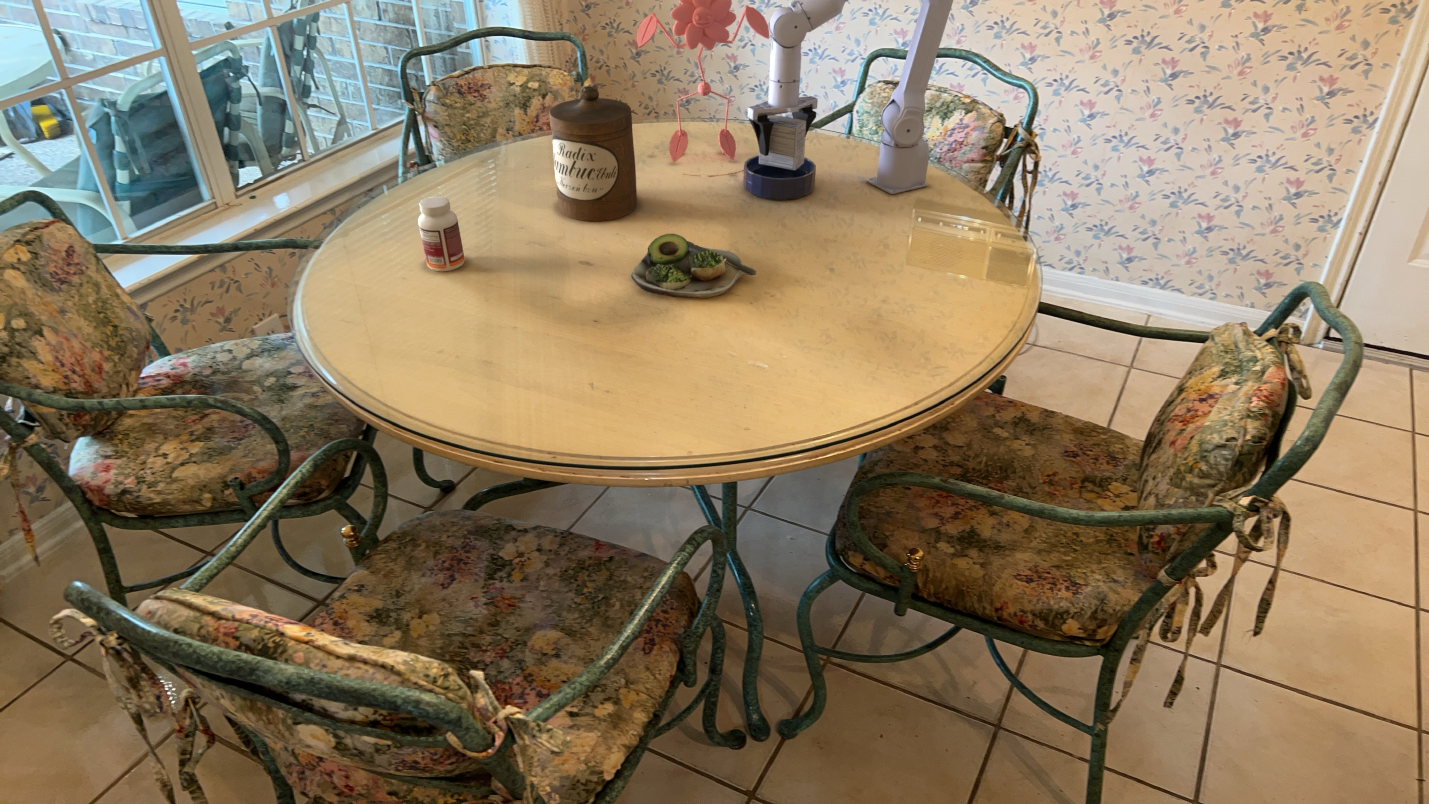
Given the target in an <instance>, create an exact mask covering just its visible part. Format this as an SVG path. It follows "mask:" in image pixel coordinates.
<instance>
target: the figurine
mask: <svg viewBox="0 0 1429 804" xmlns="http://www.w3.org/2000/svg"><path fill="white" fill-rule="evenodd" d="M678 1H679V3H680V4H679V5H677V6H675V7H674V8H673V9H672V10H671V12H670V14H669V15H670V18H671V19H673V20H674V21H675V22H674V25H673V27H672V34H673V36H675V37H681V36H684V39H685V40H684V41H685V42H684V43H681V44H678V43H676V41H675V39H673V37H672V36H671V34H670V33H669V31H667V29H666V27H665V26H663V24H662V22H661V21H660V20H659V19H658V17H657V16H656V13H655V12H652V13H651V14H650V15H647V16H646V17H645V18H644V19H643V20H642V22H640V24H639V27H638V28H637V31H636V43H637V46H638V48H639V49H642V48H643V47H644V46H645V45H646V44H647V43H649V42H650V41H651V40H652V38H653V37H654V35H655V34H656V32H657V31H656V30H657V28H658V26H659V27H660V29H661V30H662V31H663V33H664V34H665V36H666V37H668V39H669V40H670V42H671V43H672V44H673V46H674V47H676V49H680V48H683V47H686V48H688V50H695V49H697V48H698V46H699V44H700V45H701V46H700V48H699V50H698V52H697V53H698V54H697V56H696V60H697V64H698V67H699V71H700V76H701V79H702V82H700V83H699V84H698V86H697V90H696V91H694V92H692V93H689V94H687V95H685V96H683V97H680V98H677V99H676V109H677V110H676V111H677V119H678V129H677V130H675V131H674V133H673V134H672V135H671V138H670V140H669V143H668V144H669V145H668V146H669V147H668V151H669V155H670V158H671V160H672V163H676V162H677V161H678V160H679V159H680V158H682V157H683V156H684V154H685V152H686V151H687V149H688V145H689V138H688V136H689V135H688V132H687V131H686V130H685V129H682V124H681V114H680V103H679V101H681V100H684V99H686V98H689V97H692V96H694V95H696V94H699V95H700V96H703V97H706V96H709V95H710V93H711V94H713V95H716V96H718V97H720V98H722V99H725V100H726V111H725V121H724V128H721V129H720V130H719V132H718V144H719V147H720V149H721V155H724V154H725V155H726V156H727V158H729V159H730V160H732V161H734V159H735V157H736V150H737V145H736V140H735V138H734V135H733V134H732V133H731V132H730V130H729V129H727V128H728V117H729V105H730V99H729V98H728V97H727V96H724V95H722V94H721V93H720V94H719V93H717V92H716V91H713V90H712V86H711V84H710V83H709V82H707V81H706V79H705V74H704V70H703V66H702V62H701V55H702V52H703V49H705V50H708V51H712V50H713V49H714V48H715V46H716V45H717V43H718V44H729V45H730V44H731V45H734V42H735V41H736V37H737V35H738V33H739V31H740V28H741V26H742V23H743V21H744V19H746V22H747V24H748V25H749V27H750V28H751V29H752V30H753V32H754V33H756V34H758V35H759V36H761V37H763V38H764V39H767V40H769V39H770V30H769V25H768V22H767V20H766V18H765V16H764V15H763V14H762V13H761V12H760V11H759V10H758V9H756V8H755V7H753V6H750V5H748V4H746V5H744V8H743V9H744V10H743V11H742V14H741V16H740V19H739V22H738V24H737V26H736V28H735V31H734V33H733V36H732V38H731V40H729V39H730V31H729V30H728V29H727V28H728V27H730V26H732V25H733V24H734V23H735V22H736V20H737V14H736V13H735V12H733V11H731V10H730V9H731V8H732V3H733V2H732V1H733V0H678ZM651 154H652V155H653V154H654V152H652V153H651ZM741 172H744V169H742V170H738V171H735V172H731V173H725V174H723V176H727V175H732V174H734V175H737V174H739V173H741ZM682 175H683V176H691V177H700V175H697V174H688V173H687V174H686V173H682ZM718 176H722V174H715V175H714V174H713V175H708V178H714V177H718Z"/></svg>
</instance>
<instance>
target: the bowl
mask: <svg viewBox="0 0 1429 804" xmlns="http://www.w3.org/2000/svg"><path fill="white" fill-rule="evenodd" d="M743 170H744V171H743V178H742V179H743V181H742V182H743V183H742V185H743V187H744V189H745V190H746V191H748V192H749V193H750V194H752V195H754V196H757V197H759V198H762V199H766V200H772V201H773V200H774V201H788V200H795V199H799V198H803V197H805V196H806V195H808V194H811V193H812V192H813V191H814V190H815V186H816V173H817V165H816V164H815V163H814V161H813V160H811V159H809V158H807V157H804V164H802V165H801V166H800V167H799V168H797V169H796V170H790V169H785V168H780V167H775V166H770V165H764V164H759V154H758V155H754V156H752V157H749V158H748V159H747V160H746V161H744V163H743Z"/></svg>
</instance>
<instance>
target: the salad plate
mask: <svg viewBox="0 0 1429 804" xmlns="http://www.w3.org/2000/svg"><path fill="white" fill-rule="evenodd" d="M757 273H758V272H757V270H755V269H754V268H751V267H749V266H746V265H745V264H743V261H742V259H741V258H740V257H739V256H738V255H737V254H735V253H734V252H732V251H730V250H725V249H717V248H708V247H703V246H700V245H698V244H695V243H694V242H691V241H689V240H687V239H686V238H685V237H683V235H680V234H676V233H665V234H661V235H659V236H658V237H656V238H655V239H653V240H652V241H651V242H650V244H649V245H648V246H647V252H646V253H645V255H644V257H643V258H642V259H641V260H640V262H639V263H638V264H637V266H635V267H634V269H633V271H632V272H631V275H630V276H631V279H632V281H633V282H634V283H635V284H636V285H637V286H638V287H639V288H640V289H641V290H643V291H645V292H648V293H651V294H655V295H661V296H662V295H663V296H669V297H673V298H674V297H675V298H696V299H697V298H698V299H709V298H714V297H717V296H721V295H724V294H726V293H728V292H729V291H730V290H731V289H732V287H733V286H734V285H735V284H736V281H738V280H739V279H740V278H741V277H742V276H755V275H757Z"/></svg>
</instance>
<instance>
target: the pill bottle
mask: <svg viewBox="0 0 1429 804" xmlns="http://www.w3.org/2000/svg"><path fill="white" fill-rule="evenodd" d="M418 205H419V211H420V213H421V214H420V215H419V217H418V219H417V225H418V229H419V233H420V238H421V239H420V240H421V242H422V243H421V244H422V247H423V253H424V257H425V262H426V266H427V267H428V268H429V269H431V270H433V271H436V272H449V271H453V270H456V269H458V268H460V267H461V266H463V265H464V263H465V254H464V247H463V242H462V236H461V231H460V230H461V229H460V226H459V220H458V216H457V213H456V212H454V211H452V210H451V202H450V200H449V198H448V197H445V196H441V195H440V196H439V195H437V196H429V197H425V198H423V199H421V200H420V201H419V203H418Z"/></svg>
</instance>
